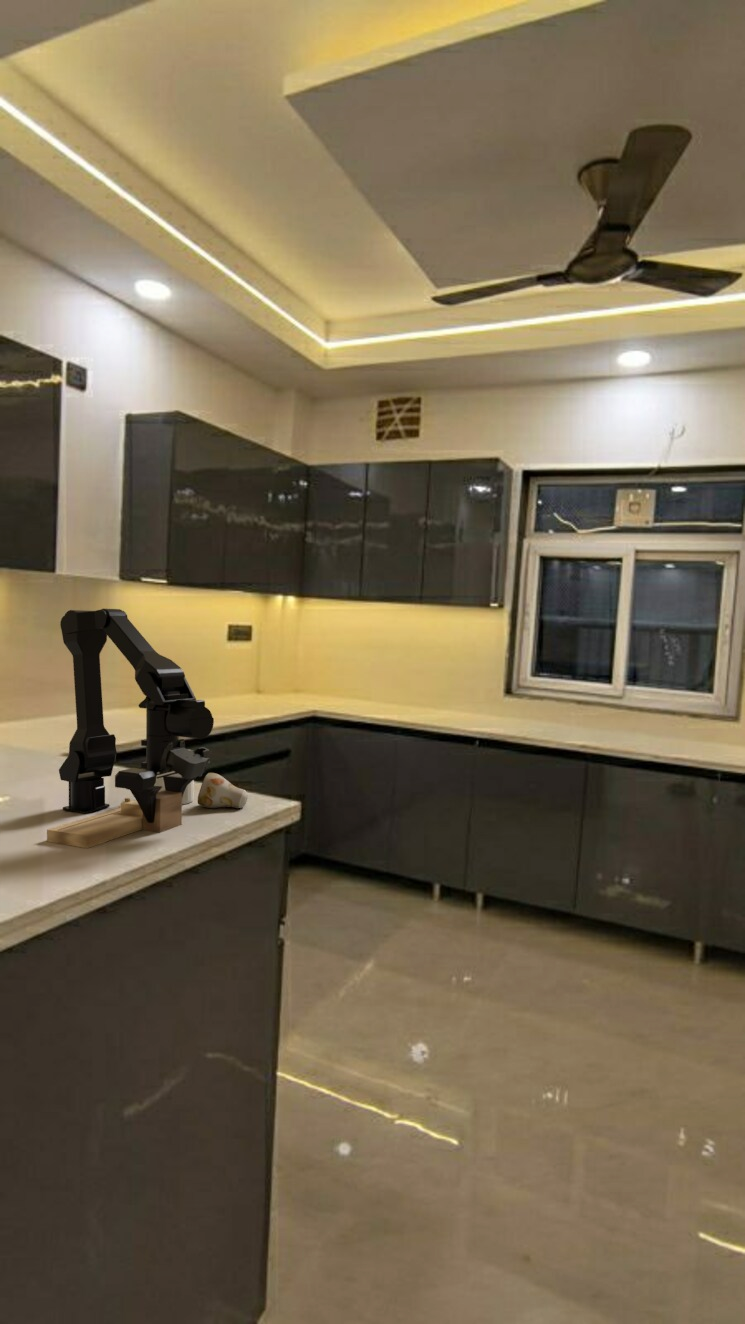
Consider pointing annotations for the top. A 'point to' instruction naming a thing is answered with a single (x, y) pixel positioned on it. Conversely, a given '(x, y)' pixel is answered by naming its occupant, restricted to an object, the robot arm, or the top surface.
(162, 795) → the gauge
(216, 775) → the patterned white vase
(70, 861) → the top surface
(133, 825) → the board
